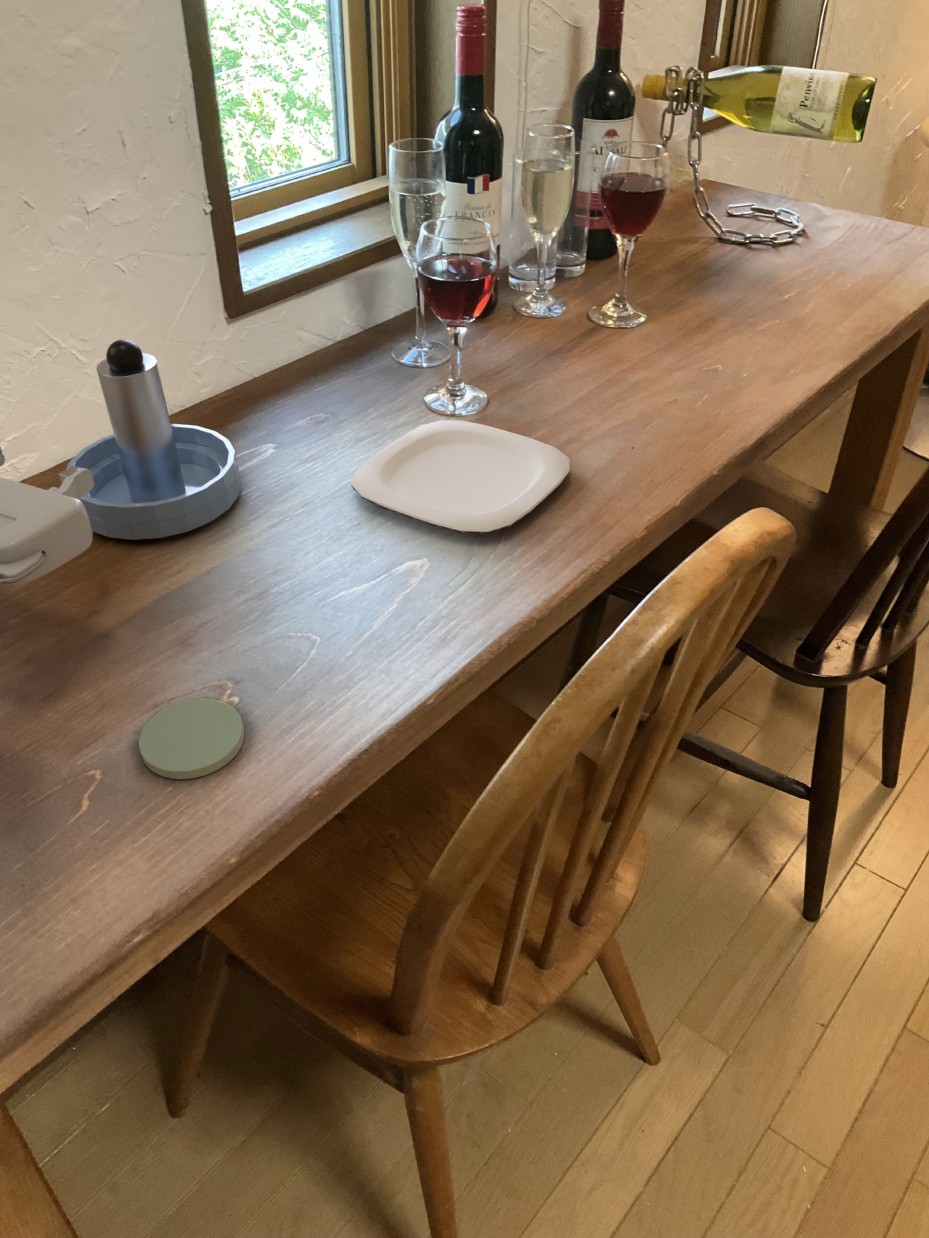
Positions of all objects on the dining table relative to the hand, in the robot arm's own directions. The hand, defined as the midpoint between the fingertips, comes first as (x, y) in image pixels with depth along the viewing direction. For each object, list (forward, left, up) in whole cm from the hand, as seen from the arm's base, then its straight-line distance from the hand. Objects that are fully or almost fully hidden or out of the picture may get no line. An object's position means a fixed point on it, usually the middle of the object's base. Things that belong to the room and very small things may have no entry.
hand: (40, 463), depth 76 cm
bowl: (+9, +8, -10) cm, 16 cm away
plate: (+36, -2, -10) cm, 37 cm away
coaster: (+5, -25, -10) cm, 27 cm away
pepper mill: (+9, +8, -10) cm, 15 cm away
